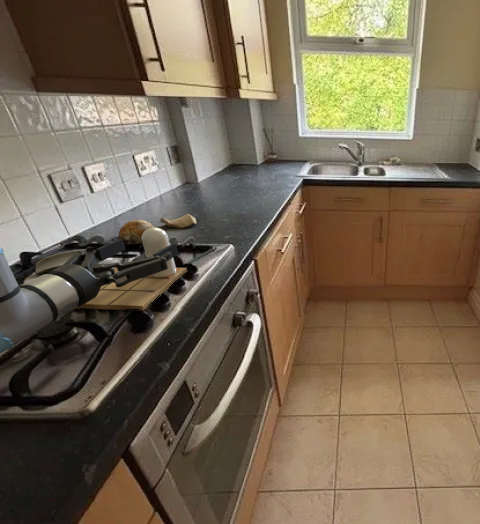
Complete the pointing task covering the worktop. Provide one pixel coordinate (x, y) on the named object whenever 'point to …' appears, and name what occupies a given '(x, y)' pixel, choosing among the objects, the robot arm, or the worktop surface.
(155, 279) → the game board
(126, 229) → the bread roll
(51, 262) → the ceramic fragment
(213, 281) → the worktop surface
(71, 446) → the worktop surface
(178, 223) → the pottery shard
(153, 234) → the white domed cylinder
